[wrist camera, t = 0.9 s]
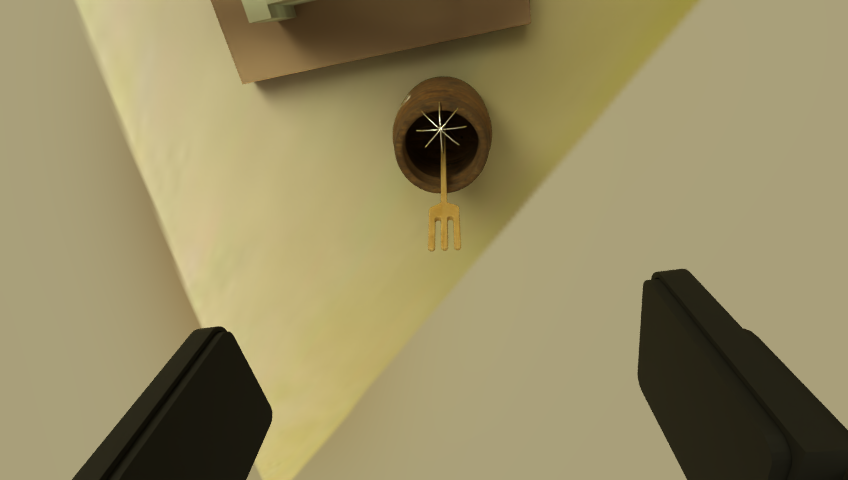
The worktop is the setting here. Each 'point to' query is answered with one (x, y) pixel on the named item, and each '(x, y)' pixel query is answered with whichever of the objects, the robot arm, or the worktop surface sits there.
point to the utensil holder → (442, 145)
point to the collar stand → (349, 29)
